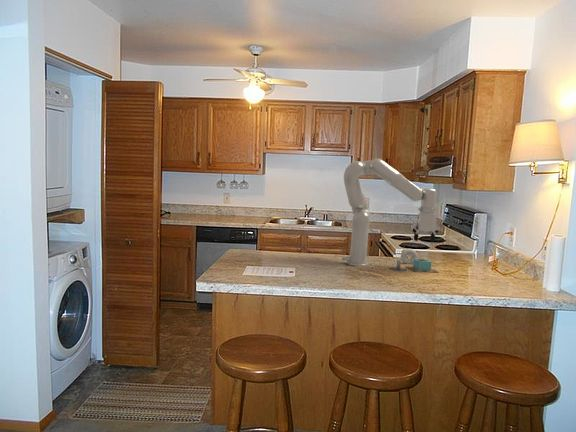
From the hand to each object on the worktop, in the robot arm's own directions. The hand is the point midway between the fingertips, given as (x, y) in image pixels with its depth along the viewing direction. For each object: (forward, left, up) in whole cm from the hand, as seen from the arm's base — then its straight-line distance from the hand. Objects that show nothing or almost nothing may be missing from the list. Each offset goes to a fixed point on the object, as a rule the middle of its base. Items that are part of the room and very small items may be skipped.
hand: (423, 241), depth 245 cm
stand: (-14, 0, -17) cm, 22 cm away
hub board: (0, 0, -17) cm, 17 cm away
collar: (0, 0, -16) cm, 16 cm away
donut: (0, +17, -18) cm, 24 cm away
